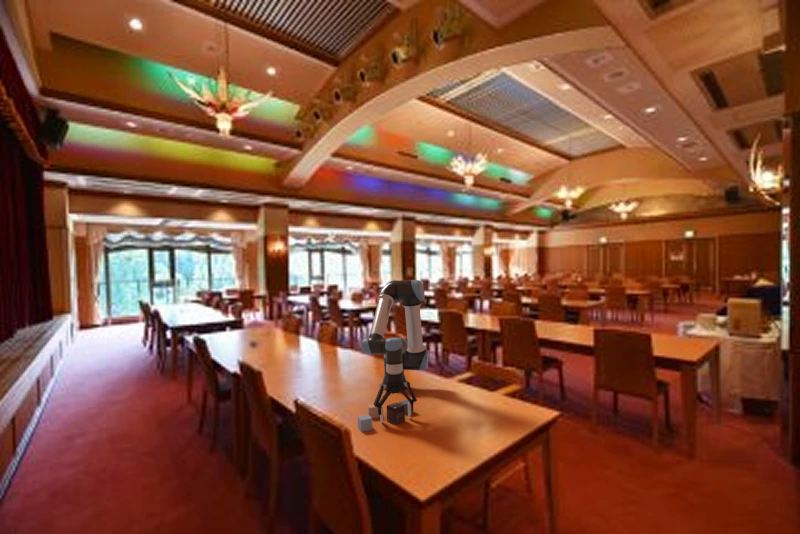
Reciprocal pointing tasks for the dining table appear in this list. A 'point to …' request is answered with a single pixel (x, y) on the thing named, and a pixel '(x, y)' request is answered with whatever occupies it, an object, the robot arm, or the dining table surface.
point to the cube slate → (364, 423)
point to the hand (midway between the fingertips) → (395, 419)
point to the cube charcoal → (406, 406)
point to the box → (395, 413)
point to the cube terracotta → (373, 411)
